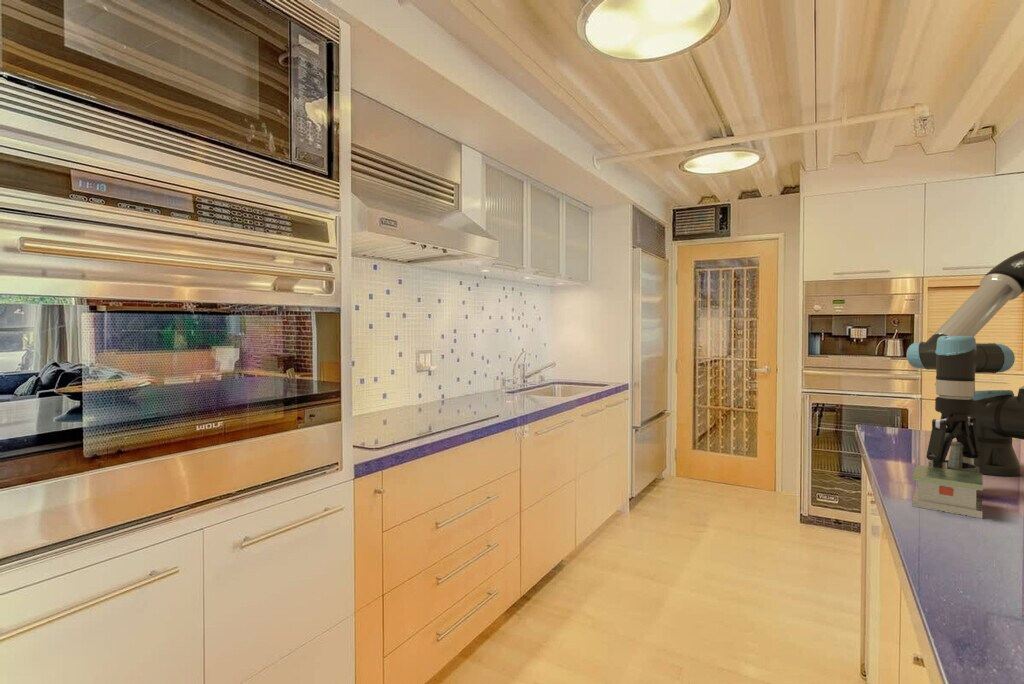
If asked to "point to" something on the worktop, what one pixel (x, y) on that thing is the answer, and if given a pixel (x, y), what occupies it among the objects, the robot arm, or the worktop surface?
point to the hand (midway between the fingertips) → (953, 485)
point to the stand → (948, 490)
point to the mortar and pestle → (958, 459)
